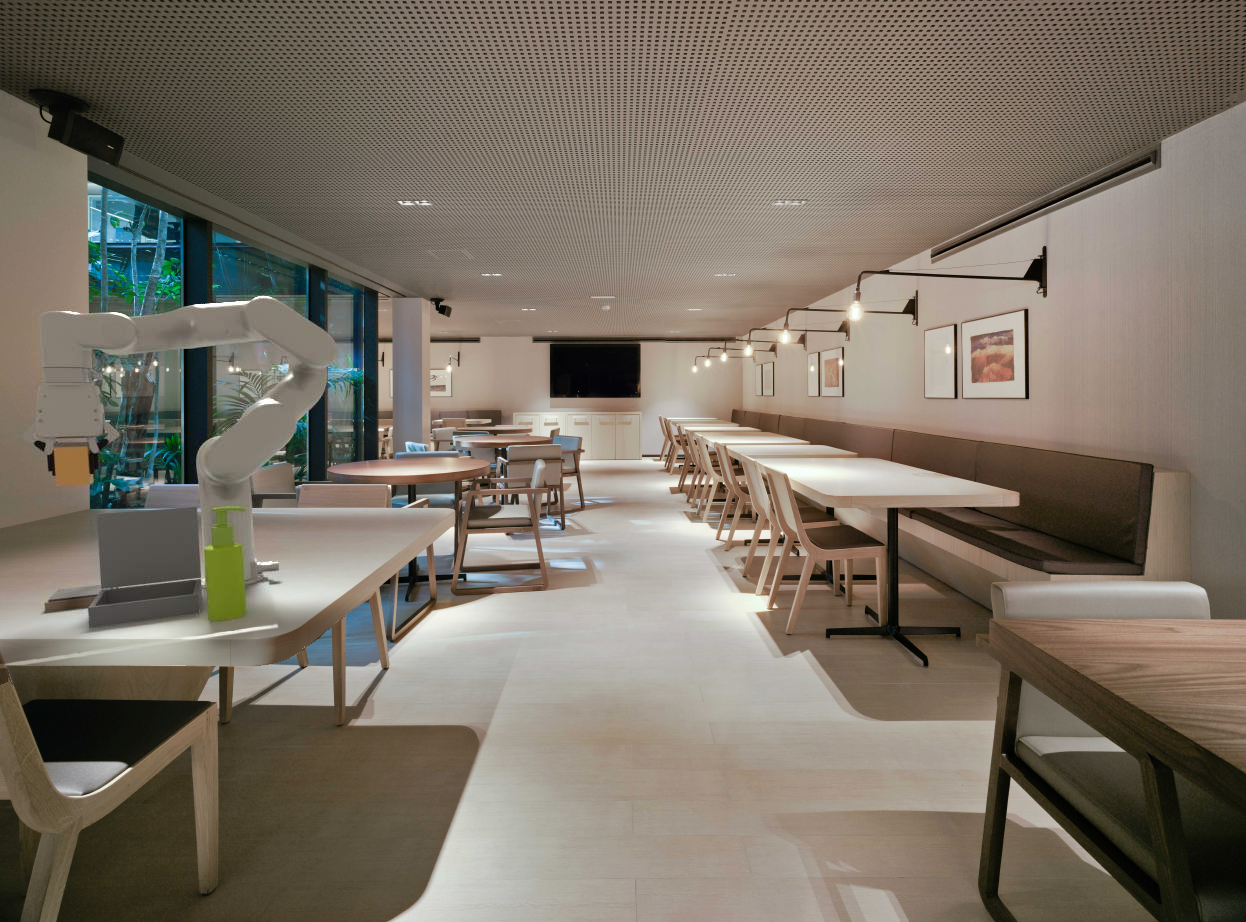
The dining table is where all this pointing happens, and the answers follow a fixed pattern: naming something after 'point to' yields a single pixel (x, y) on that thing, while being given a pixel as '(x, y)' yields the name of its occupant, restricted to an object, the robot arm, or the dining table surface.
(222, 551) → the soap dispenser
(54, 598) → the pad
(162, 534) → the lid
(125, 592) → the case
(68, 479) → the block
